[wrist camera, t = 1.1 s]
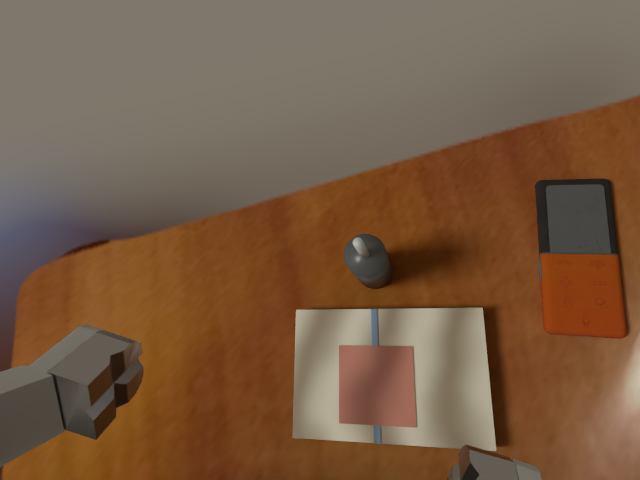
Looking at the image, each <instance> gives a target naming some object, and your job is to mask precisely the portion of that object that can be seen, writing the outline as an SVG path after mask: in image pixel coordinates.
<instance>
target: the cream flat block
mask: <svg viewBox="0 0 640 480" xmlns="http://www.w3.org/2000/svg"><path fill="white" fill-rule="evenodd" d="M293 438H304V439H319V440H335V441H350V442H365V443H377V444H396V445H411V446H426V447H441V448H457V449H461V448H462V447H463V446H464V445H465V444H466V445H470V446H473V447H476V448H480V449H483V450H487V451H496V442H495V431H494V421H493V410H492V400H491V389H490V379H489V368H488V358H487V347H486V337H485V326H484V316H483V308H412V309H326V310H296V330H295V368H294V405H293Z"/></svg>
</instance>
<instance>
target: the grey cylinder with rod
mask: <svg viewBox="0 0 640 480" xmlns="http://www.w3.org/2000/svg"><path fill="white" fill-rule="evenodd" d="M344 259H345V263H346V265H347V266H348V268H349V269H350V270H351V271H352V272H353V273H354V275H355V276H356V277H357V278H358V279H359V280H360V281H361V283H362V284H363V285H365V286H366V287H368V288H372V289H378V288H381V287H384V286H385V285H386V284H387V283H388V282H389V281H390V279H391V277H392V267H391V264H390V261H389V258H388V255H387V252H386V249H385V247H384V245H383V243H382V242H381V240H380V239H378V238H377V237H375V236H373V235H370V234H361V235H358V236H356V237H354V238H352V239H351V240H350V241H349V242H348V244H347V245H346V248H345V251H344Z"/></svg>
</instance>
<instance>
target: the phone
mask: <svg viewBox="0 0 640 480" xmlns="http://www.w3.org/2000/svg"><path fill="white" fill-rule="evenodd" d="M535 192H536V208H537V224H538V240H539V257H540V259H539V262H540V278H541V289H542V305H543V321H544V329H545V331H546V332H547V333H549V334H558V335H573V336H592V337H605V338H623V337H625V336H626V334H627V329H626V320H625V311H624V303H623V294H622V285H621V276H620V267H619V258H618V249H617V240H616V231H615V222H614V213H613V204H612V195H611V186H610V182H609V181H608V180H606V179H574V180H541V181H538V182H537V183H536V185H535Z"/></svg>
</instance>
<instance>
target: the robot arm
mask: <svg viewBox="0 0 640 480" xmlns="http://www.w3.org/2000/svg"><path fill="white" fill-rule="evenodd" d="M141 354H142V348H141V343H139V342H137V341H134V340H131V339H128V338H125V337H123V336H120V335H117V334H114V333H111V332H108V331H105V330H102V329H99V328H96V327H93V326H90V325H87V324H86V325H83V326H80V327H78V328H77V329H75V330H74V331H73V332H71V333H70V334H69V335H68V336H66V337H65V338H64V339H62V340H61V341H60V342H59V343H57V344H56V345H55V346H54V347H52V348H51V349H50V350H48V351H47V352H46V353H45V354H43V355H42V356H41V357H39V358H38V359H37V360H36V361H34V362H33V363H32V364H31V365H29V366H25V365H21V366H18V367H15V368H11V369H8V370H5V371H3V372H0V467H1V466H3V465H4V464H6V463H8V462H10V461H12V460H13V459H15V458H17V457H19V456H21V455H23V454H24V453H26V452H28V451H30V450H32V449H34V448H35V447H37V446H39V445H41V444H43V443H44V442H46V441H48V440H50V439H52V438H54V437H55V436H57V435H59V434H61V433H63V432H64V429H65V430H68V431H71V432H74V433H77V434H80V435H83V436H86V437H89V438H92V439H95V440H97V438H98V437H99V436H100V435H101V434H102V433H103V431H104V430H105V429H106V428H107V427H108V426H109V424H110V423H111V422H112V421H113V420H114V419H115V418H116V408H117V407H120V406H122V405H124V404H126V403H128V402H129V401H130V400H131V399H132V397H133V396H134V395H135V394H136V392H137V390H138V388H139V386H140V384H141V382H142V377H143V366H142V364H141V363H140V361H139V360H138V357H139V356H140V355H141ZM458 455H459V464H457V465H455V466H453V467H452V468H451V471H450V473H449V475H448V479H447V480H542V478H541V475H540V471H539V470H538V468H537V467H536V466H534V465H531V464H528V463H524V462H521V461H518V460H515V459H510V458H509V457H506V456H503V455H500V454H496V453H493V452H490V451H486V450H483V449H480V448H476V447H473V446H470V445H466V444H465V445H464V446H463V447H462V448H461V450H460V452H459V454H458Z"/></svg>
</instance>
